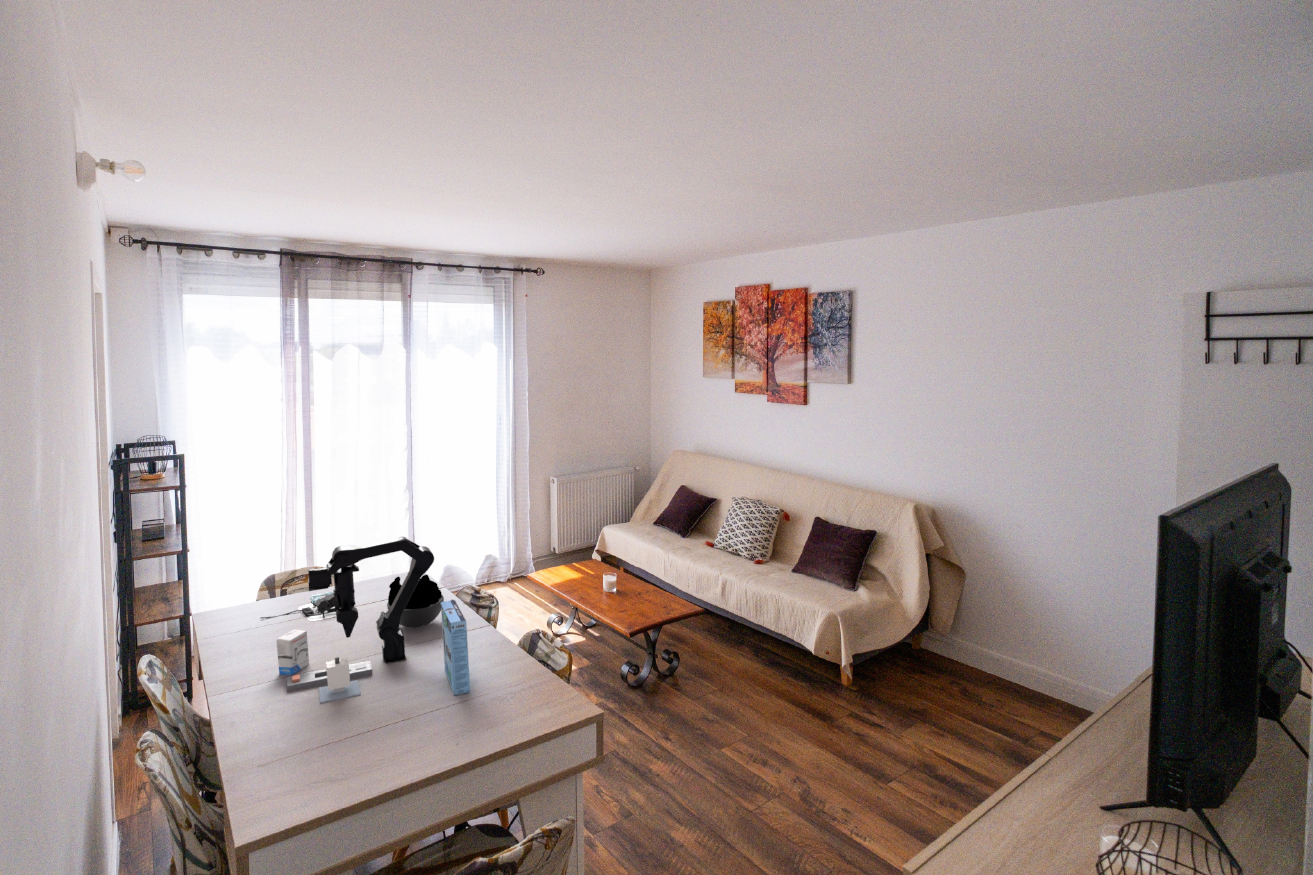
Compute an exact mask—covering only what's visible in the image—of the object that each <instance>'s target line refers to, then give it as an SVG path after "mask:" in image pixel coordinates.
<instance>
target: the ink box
mask: <svg viewBox="0 0 1313 875" xmlns="http://www.w3.org/2000/svg"><path fill="white" fill-rule="evenodd" d="M308 646H309V644H308V632H307V630H300V629H292V630H291V631H289V632H287V633H285V634H283V635H281V636H280V637H277V639H276V650H277V662H278V664H277V665H278V674H279V675H285V676H293V675H296V673H298V672H299V671H301V670H303V669H304V668H305V667H307V666H308V665H309V664H310V658H309V647H308Z"/></svg>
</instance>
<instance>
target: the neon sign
mask: <svg viewBox="0 0 1313 875" xmlns="http://www.w3.org/2000/svg"><path fill="white" fill-rule="evenodd" d="M332 593H333V591H328V592H322V593H318V594H314V595H311V596H309V600H310V603H308V604H304V605H301V606H299V607H298V608H297V609H296V610H294V611H290V612H287V613H284V614H279V615H275V616H263V617H260V619H271V618H278V617H280V616H286V615H290V614H294V613H295V612H300V613H301V614H302V615H303V616H304V617H305V618H306V619H307V620H308V621H310V622H316V621H323V620H326V619H327V620H328V619H333V618H336V612H337V611H338V610H336V609H335V606H334V607H333V608H331V609H329V610H327V611H325V612H324V613H320V612H319V610H318V608H317V606H316V601H317V600H319V599H321V598H322V597H325V596H327V595H330V594H332Z"/></svg>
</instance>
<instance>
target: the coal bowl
mask: <svg viewBox="0 0 1313 875" xmlns="http://www.w3.org/2000/svg"><path fill="white" fill-rule="evenodd" d="M401 586H402V584H401V577H400V576H396V577H395V578H394V580H393V581H392V582H391V583H390V584H389V587H388V588H390V590H389V592H388V597H387V600H388V601H387V603H386V607H387V611H388V610H389V609H390V608H391V606H392V604H393V602H394V600H395V598H396V596H397V594H398V592H399V590H400V588H401ZM441 602H445V598H444V595H443V594H442V591H441V589H440V588H439V586H438V583H437V582H435V581H433V580H431V579H430V576H429V575H428V574H423V575H422V576H421V578H420V580H419V582H418V584H417V586H416V588H415V590H414V591H413V593H412V595H411V597H410V599H409V601H408V603H407V605H406V607H405V609H404V611H403V613H402V615H401V620H400V625H399V626H402V627H405V628H408V629H420V628H424V627H426V626H427V625H429V624H431V623H432V622H434V621H435V619H437V617H438V616H439V614H440V613H441Z"/></svg>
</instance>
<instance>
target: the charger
mask: <svg viewBox="0 0 1313 875" xmlns="http://www.w3.org/2000/svg"><path fill="white" fill-rule="evenodd" d="M349 663H350V662H349V658H348V657H346V658H340V657H338V656H337V657H334V660H330V661H326V662H325V665H326V667H325V669H327V682H328V684H327V686H328V690H333V689H334V693H337V692H342V691H345V687H347V686H350V681H351V679H350V675H349Z"/></svg>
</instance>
